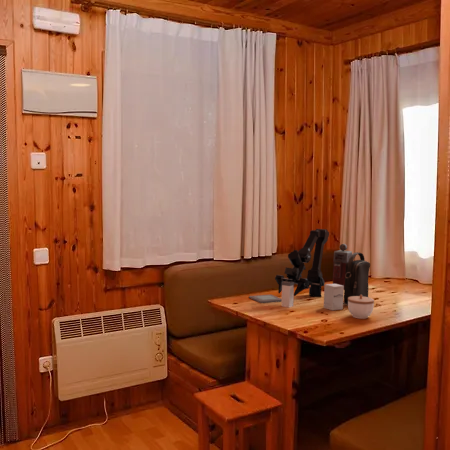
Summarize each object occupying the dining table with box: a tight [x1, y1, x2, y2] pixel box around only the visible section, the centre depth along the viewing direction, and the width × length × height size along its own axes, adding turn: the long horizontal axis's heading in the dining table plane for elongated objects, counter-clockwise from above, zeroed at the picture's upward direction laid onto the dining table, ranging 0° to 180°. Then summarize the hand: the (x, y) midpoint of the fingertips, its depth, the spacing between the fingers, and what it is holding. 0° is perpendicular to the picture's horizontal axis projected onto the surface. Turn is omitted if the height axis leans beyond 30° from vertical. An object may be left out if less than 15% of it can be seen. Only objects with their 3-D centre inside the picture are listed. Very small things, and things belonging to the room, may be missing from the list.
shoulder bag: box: [343, 252, 371, 306], centre depth 290 cm, size 23×9×28 cm, turn 142°
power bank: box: [281, 281, 295, 308], centre depth 278 cm, size 5×5×13 cm
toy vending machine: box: [332, 243, 353, 288], centre depth 329 cm, size 9×11×28 cm
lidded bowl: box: [347, 295, 375, 320], centre depth 258 cm, size 13×13×11 cm
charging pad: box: [248, 294, 282, 304], centre depth 293 cm, size 14×14×1 cm
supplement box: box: [323, 283, 344, 311], centre depth 275 cm, size 7×7×13 cm
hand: (286, 294), depth 277 cm, fingers open, 9 cm apart
